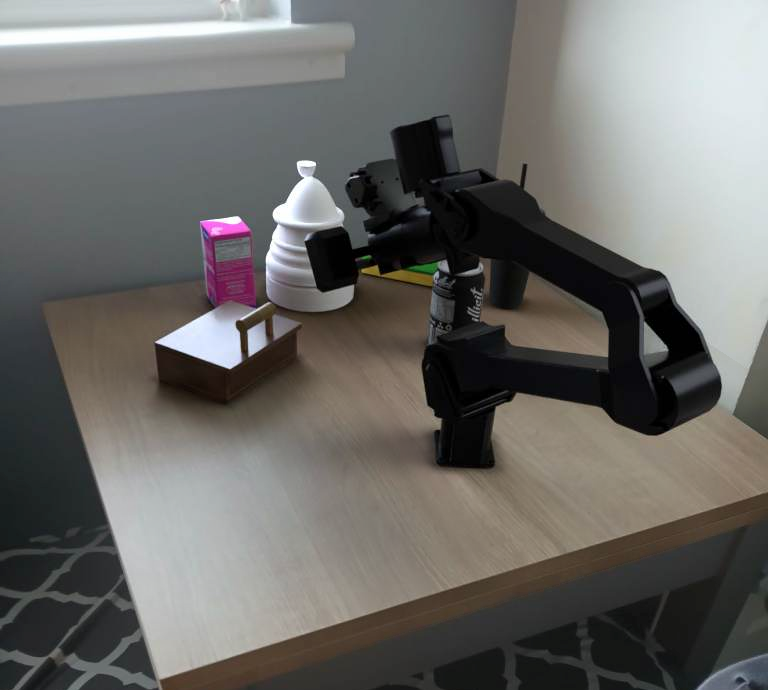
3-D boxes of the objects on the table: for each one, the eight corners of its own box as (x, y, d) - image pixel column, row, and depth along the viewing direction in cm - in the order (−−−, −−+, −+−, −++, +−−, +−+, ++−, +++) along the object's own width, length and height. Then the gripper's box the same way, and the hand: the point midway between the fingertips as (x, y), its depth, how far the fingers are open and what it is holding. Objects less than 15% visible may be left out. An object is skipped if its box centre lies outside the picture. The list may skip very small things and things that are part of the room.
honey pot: (257, 279, 133) (252, 156, 122) (337, 271, 137) (340, 151, 126) (279, 316, 124) (277, 186, 113) (365, 306, 128) (371, 180, 116)
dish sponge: (445, 290, 133) (447, 274, 132) (360, 273, 137) (361, 258, 135) (458, 273, 139) (460, 258, 137) (376, 257, 142) (377, 242, 141)
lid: (302, 328, 112) (301, 293, 109) (230, 374, 102) (228, 337, 99) (230, 304, 116) (228, 270, 113) (154, 347, 106) (150, 311, 103)
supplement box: (205, 298, 127) (198, 219, 120) (244, 292, 129) (240, 215, 122) (216, 315, 123) (211, 235, 116) (257, 309, 125) (254, 230, 118)
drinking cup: (474, 308, 129) (491, 168, 117) (485, 288, 135) (502, 152, 122) (526, 317, 127) (549, 176, 115) (534, 296, 133) (557, 160, 121)
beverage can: (476, 341, 121) (486, 257, 113) (475, 364, 116) (486, 277, 108) (428, 337, 121) (435, 252, 114) (425, 359, 116) (433, 272, 108)
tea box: (297, 357, 115) (296, 326, 112) (227, 405, 105) (225, 373, 102) (232, 334, 119) (230, 305, 116) (158, 379, 108) (154, 347, 106)
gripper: (472, 141, 94) (389, 176, 107) (330, 167, 85) (258, 202, 98) (495, 246, 97) (412, 268, 110) (360, 283, 88) (286, 302, 101)
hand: (345, 258), depth 105 cm, fingers open, 9 cm apart
